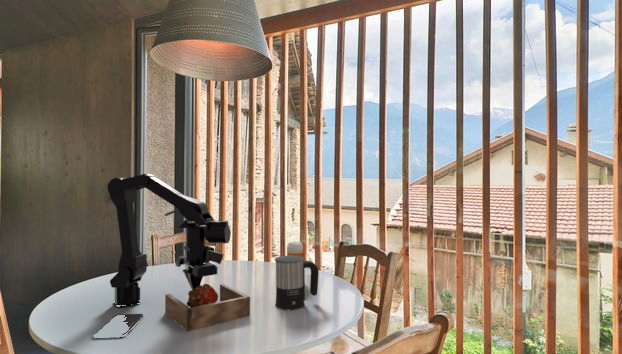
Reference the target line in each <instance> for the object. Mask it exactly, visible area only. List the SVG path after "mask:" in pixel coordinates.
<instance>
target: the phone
mask: <svg viewBox="0 0 622 354" xmlns="http://www.w3.org/2000/svg"><path fill="white" fill-rule="evenodd" d="M117 315H125V317H127V318H126V320H125V321H123V322H128V323H126V324H127V325H128V327H130V328H129V330H130V329H131V328H132V327H133V326H134V325H135V324H136V323H137V322H138V321H139V320H140V319H141V318H142V317H143V318H144V314H143V313H122V314H120V313H119V314H115V315H114V316H113V317H115V316H117ZM125 317H124V318H125ZM143 318H142V319H143ZM142 319H141V320H142ZM141 320H140V321H141ZM129 330H128V331H129ZM128 331H127V332H128ZM127 332H126V333H127ZM126 333H124V334H126ZM124 334H122V335H124Z"/></svg>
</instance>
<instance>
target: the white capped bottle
mask: <svg viewBox="0 0 622 354" xmlns="http://www.w3.org/2000/svg"><path fill="white" fill-rule="evenodd" d="M288 255H289V256H290V255H294V256H301V257H304V245H303V243H302V242H298V241H292V242H291V241H290V242H288V243H287V245H286V256H288Z"/></svg>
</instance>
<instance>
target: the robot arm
mask: <svg viewBox="0 0 622 354" xmlns="http://www.w3.org/2000/svg"><path fill="white" fill-rule="evenodd" d="M106 188H107V192H108V195H109V198H110V200H111V202H112V203H113V205H114V206H115V210H116V217H117V224H118V234H119V241H120V249H121V254H120V256H119V260H118V262H117V273H116V274H114V276H113V277H111V279H110V280H109V283H110V287H111V288H113V289H114V301H115V303H116V305H121V306H122V305H131V304H136V305H138V304H137V303H140V304H141V302H140V300H141V286H139V282H141V281H142V277H143V276H144V275H145V274H146V273H147V267H149V264H148V261H147V258H148V257H147V253H142V252H141V251H140V249H139V242H138V234H137V227H136V220H135V219H136V218H135V211H134V203H135V200H136V197H137V191H140V190H142V189H146V190H148V191H149V192H151V193H153V194H155V195H156V196H157V197H159V198H161V199H162V200H164V201H165V202H167V203H168V204H170V205H172V206H173V207H174V208H175V209H176V210H177V212H178V213H179V214H180V215H181V216H182V217H183V218H184V220H183V222H182V223H181V224H180V225H178V228H180V229H185V245H183V250H184V251H185V255H181V256H180V255H179V256H177V258H176V259H175V266H176V267H178V268H180V267H181V266H182V265H184V269H182V273H183V274H184V276H185V278H186V280H187V282H188V284H189V287H190V289H191V290H194V289H195V288H196V287H198V286H199V285H201V283H202V280H203V278H204V277H209V276H214V275H215V276H216V275H218V268H219V267H218V266H217V265H216V264H214V263H217V264H218V265H219V264H220V265H221V264H222V261H223V257H224V253H221V252H218V251H215V248H214V247H211V246H208V245H206V242H208V243H209V244H229V242H230V240H231V235H232V234H231V233H232V230H231V227H230V225H229V221H228V220H223V221H221V220H220V221H219V220H215V219H214V217H213V216H212V215H211V213H210V212H209V207H208V205H207V204H206V203H205V202H203V201H201V200H199V199H196V198H194V197H190V196H187V195H185V194H183V193H182V192H179V191H178V190H176V189H175V188H174V187H172V186H170V185H168V184H167V183H165V182H164V181H162V180H160V179H159V178H157V177H156V176H155V175H154V174H152V173H143V174H139V175H135V176H130V177H114V178H112V179H110V180H109V182H108V183H107V186H106ZM212 262H213V263H212ZM131 306H132V305H131Z"/></svg>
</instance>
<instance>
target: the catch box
mask: <svg viewBox="0 0 622 354" xmlns="http://www.w3.org/2000/svg"><path fill="white" fill-rule="evenodd" d="M164 295H165V298H164V300H165V301H164V302H165V303H164V305H165V306H164V310H165V312H164V314H166V315H167V314H168V315H169V316H170V317H171V318H170V317H169V316H168V315H167V316H168V317H169V318H170V319H171V320H173V321H174V320H175V321H176V322H177V323H176V322H175V321H174V322H175V323H176V324H178V325H179V326H180V327H181V326H182V327H183V330H185V331H186V332H191V331H195V330H199V329H203V328H206V327H210V326H211V327H212V326H214V325H219V324H224V323H226V322H231V321H235V320H238V319H243V318H247V317H251V296H249V295H248V294H245V293H243V292H241V291H239V290H237V289H235V288H233V287H230V286H229V285H227V284H224V283H221V284H219V301H217V302H215V303H211V304H207V305H202V306H197V307H193V308H190V306H187V304H185V303H183V301H181V300H179V299H178V298H177V297H175V296H174V295H172V294H170V293H165V294H164ZM182 327H181V328H182Z"/></svg>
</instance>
